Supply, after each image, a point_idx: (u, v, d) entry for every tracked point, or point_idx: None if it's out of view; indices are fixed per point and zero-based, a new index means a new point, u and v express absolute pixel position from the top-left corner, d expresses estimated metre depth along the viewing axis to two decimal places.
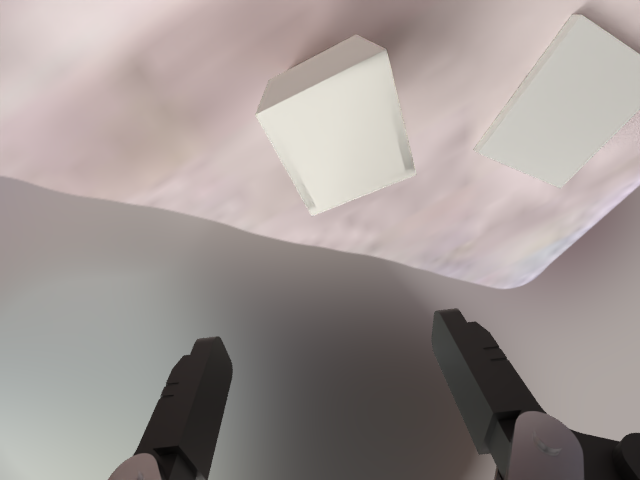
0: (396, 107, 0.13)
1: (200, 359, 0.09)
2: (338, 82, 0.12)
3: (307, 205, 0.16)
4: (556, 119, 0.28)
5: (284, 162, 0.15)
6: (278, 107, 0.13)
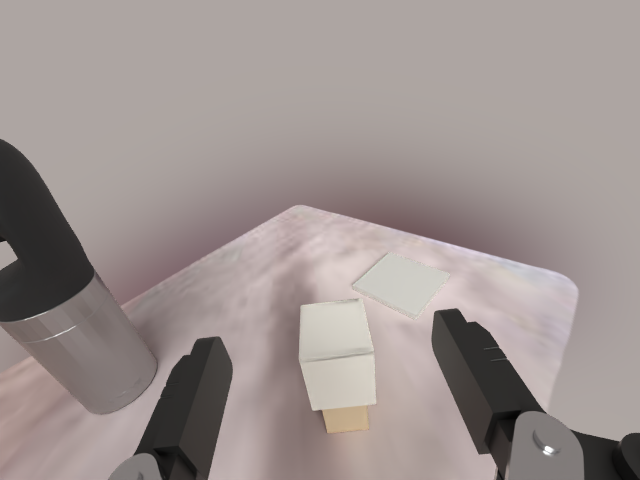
0: (324, 303, 0.29)
1: (200, 359, 0.09)
2: (303, 322, 0.27)
3: (364, 351, 0.24)
4: (400, 283, 0.49)
5: (330, 354, 0.24)
6: (301, 347, 0.25)
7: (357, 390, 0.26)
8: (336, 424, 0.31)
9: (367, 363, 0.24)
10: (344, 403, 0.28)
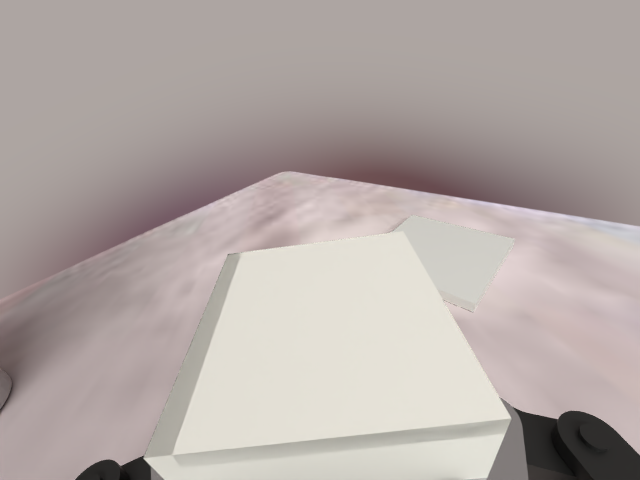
0: (294, 248, 0.10)
1: None
2: (221, 296, 0.08)
3: (460, 417, 0.05)
4: (437, 255, 0.31)
5: (293, 433, 0.05)
6: (177, 394, 0.06)
7: None
8: None
9: (462, 463, 0.06)
10: None
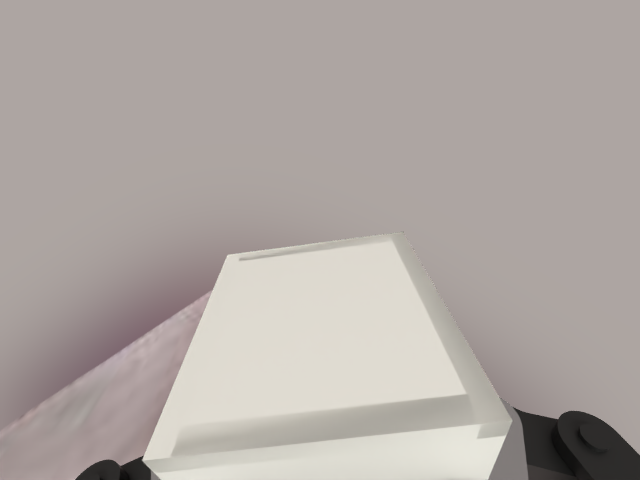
0: (294, 249, 0.10)
1: None
2: (220, 297, 0.08)
3: (461, 420, 0.05)
4: None
5: (292, 435, 0.05)
6: (176, 396, 0.06)
7: None
8: None
9: (463, 465, 0.06)
10: None
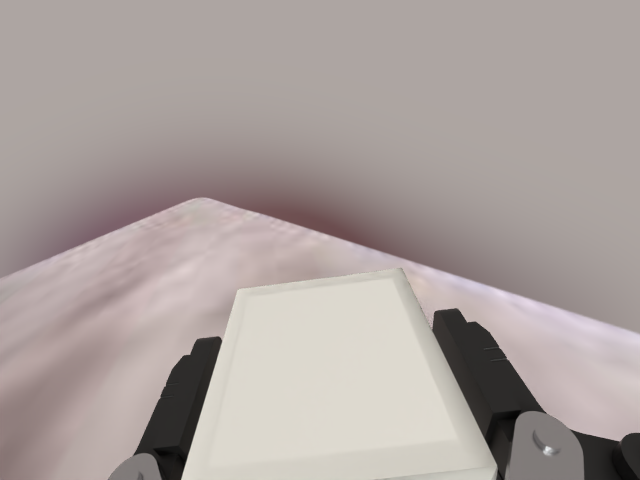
0: (300, 284, 0.11)
1: (200, 359, 0.09)
2: (234, 336, 0.09)
3: (453, 464, 0.06)
4: None
5: (306, 478, 0.06)
6: (200, 437, 0.07)
7: None
8: None
9: None
10: None
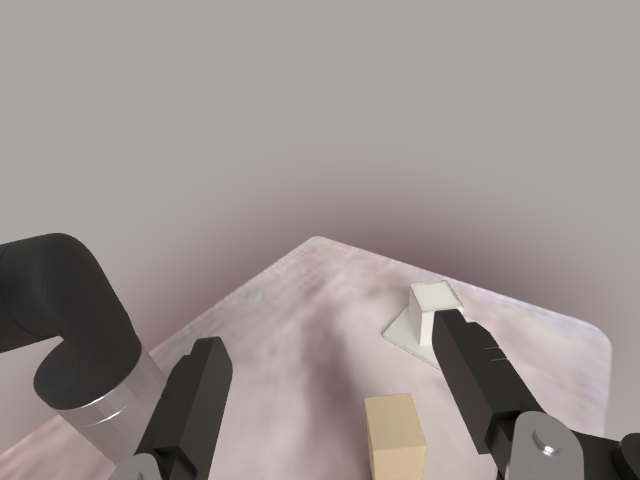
0: (424, 283, 0.49)
1: (200, 359, 0.09)
2: (416, 293, 0.47)
3: (458, 306, 0.44)
4: None
5: (439, 308, 0.44)
6: (421, 305, 0.45)
7: None
8: None
9: None
10: None
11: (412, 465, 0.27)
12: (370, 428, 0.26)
